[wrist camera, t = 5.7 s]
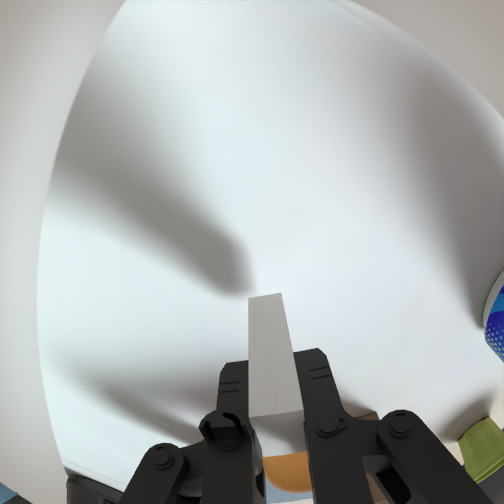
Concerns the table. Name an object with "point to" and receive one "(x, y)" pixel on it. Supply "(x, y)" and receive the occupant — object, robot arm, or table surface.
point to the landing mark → (283, 494)
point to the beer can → (495, 317)
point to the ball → (288, 472)
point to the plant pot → (482, 449)
